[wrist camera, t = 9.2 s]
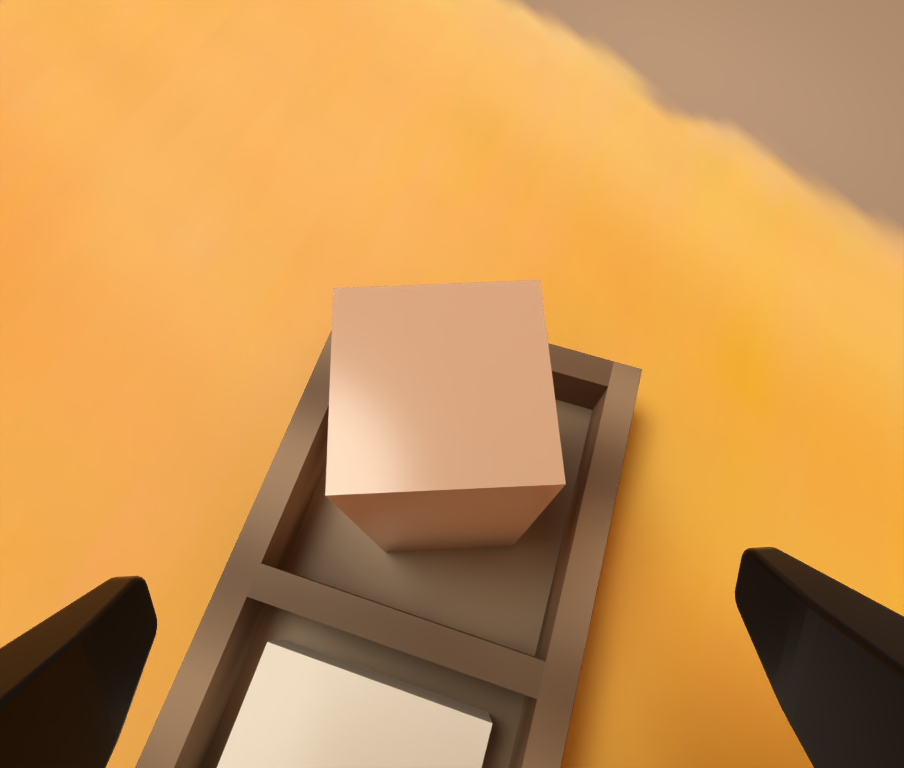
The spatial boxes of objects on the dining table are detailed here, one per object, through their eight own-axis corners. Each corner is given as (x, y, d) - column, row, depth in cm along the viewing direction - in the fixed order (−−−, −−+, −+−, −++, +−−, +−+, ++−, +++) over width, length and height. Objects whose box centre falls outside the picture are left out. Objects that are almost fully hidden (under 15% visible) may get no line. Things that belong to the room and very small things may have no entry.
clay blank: (512, 546, 20) (565, 484, 11) (384, 552, 20) (325, 495, 10) (502, 424, 22) (540, 279, 12) (384, 429, 21) (333, 288, 12)
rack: (362, 328, 24) (350, 288, 21) (617, 401, 23) (641, 369, 20) (103, 939, 16) (26, 1010, 13) (465, 1100, 15) (468, 1219, 12)
